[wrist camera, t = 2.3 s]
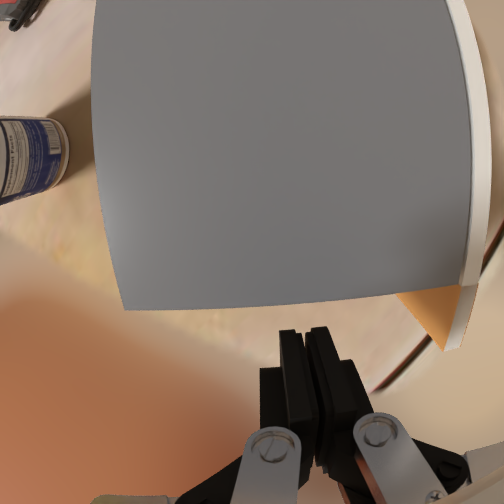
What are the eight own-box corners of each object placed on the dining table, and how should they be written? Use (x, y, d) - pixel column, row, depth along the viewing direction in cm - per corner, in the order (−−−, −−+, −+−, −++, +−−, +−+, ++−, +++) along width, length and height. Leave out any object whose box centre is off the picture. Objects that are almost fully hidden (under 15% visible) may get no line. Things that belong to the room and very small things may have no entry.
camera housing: (167, 3, 12) (112, -73, 4) (355, -4, 12) (410, -77, 4) (183, 236, 18) (124, 310, 9) (376, 224, 17) (459, 284, 9)
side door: (362, 12, 12) (423, -54, 4) (382, 15, 12) (449, -43, 4) (376, 275, 18) (441, 353, 10) (394, 273, 18) (463, 347, 10)
